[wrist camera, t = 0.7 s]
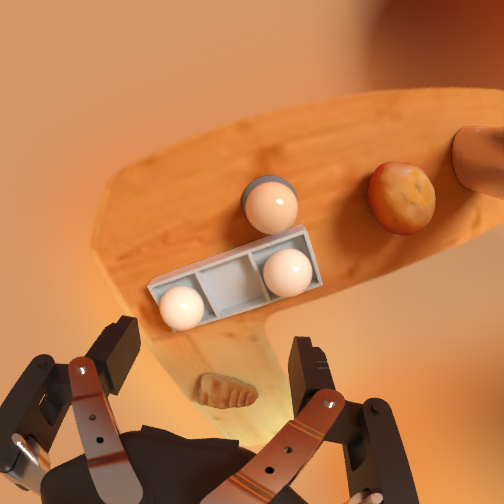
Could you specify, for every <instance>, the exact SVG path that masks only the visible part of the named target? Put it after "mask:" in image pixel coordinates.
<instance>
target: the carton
mask: <svg viewBox="0 0 504 504" xmlns="http://www.w3.org/2000/svg"><path fill="white" fill-rule="evenodd" d="M284 248H292V249H296V250H299V251H300V252H302V253H303V254H304V255H305V256H306V257H307V258H308V259H309V261H310V263H311V266H312V279H311V282H310V284H309V286H308V287H307V289H306V290H305V291H308V290H311V289H314V288H316V287H319V286H322V285H323V282H322V279H321V275H320V272H319V269H318V265H317V262H316V259H315V255H314V252H313V249H312V246H311V242H310V239H309V236H308V233H307V230H306V228H305V227H304V225H303V224H300V225H297V226H295V227H292V228H289V229H287V230H285V231H284V232H281V233H278V234H272V235H270V236H267V237H264V238H261V239H258V240H256V241H253V242H250V243H247V244H245V245H242V246H239V247H236V248H234V249H231V250H228V251H225V252H223V253H220V254H217V255H214V256H212V257H209V258H206V259H203V260H201V261H198V262H195V263H193V264H190V265H187V266H184V267H182V268H179V269H176V270H174V271H171V272H168V273H166V274H163V275H160V276H158V277H155V278H153V279H152V280H151V282H150V283H149V284H148V286H147V287H148V289H149V291H150V293H151V295H152V296H153V298H154V300H155V302H156V303H157V305H158V307H159V309H160V301H161V298H162V296H163V295H164V293H165V292H166V291H167V290H169V289H170V288H172V287H174V286H180V285H183V286H188V287H191V288H193V289H194V290H196V291H197V292H198V293H199V295H200V296H201V298H202V300H203V303H204V315H203V317H202V319H201V321H200V322H199V324H197V325H196V326H199V325H202V324H206V323H209V322H213V321H216V320H219V319H223V318H226V317H229V316H233V315H236V314H239V313H242V312H245V311H249V310H252V309H255V308H258V307H261V306H264V305H267V304H270V303H273V302H276V301H279V300H282V299H285V298H288V297H281V296H278V295H276V294H274V293H273V292H272V291H271V290H270V289H269V288H268V287H267V285H266V283H265V281H264V277H263V269H264V265H265V263H266V261H267V259H268V258H269V256H270V255H271V254H273V253H274V252H276V251H277V250H280V249H284ZM305 291H304V292H305ZM171 329H172V330H173V332H178V331H181V330H176V329H173V328H171Z"/></svg>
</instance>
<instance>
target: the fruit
mask: <svg viewBox="0 0 504 504" xmlns="http://www.w3.org/2000/svg"><path fill="white" fill-rule="evenodd" d="M435 201H436V198H435V189H434V187H433V185H432V184H431V182H430V181H429V179H428V177H427V175H426V174H425V173H424V172H423V171H422V170H421V169H420V168H419V167H417V166H414V165H411V164H409V163H396V162H387V163H384V164H382V165H380V166H379V167H378V168H377V169H376V170H375V172H374V174H373V175H372V176H371V178H370V181H369V185H368V192H367V202H368V206H369V208H370V213H371V214H372V215H373V216H374V217H375V219H376V220H377V221H378V222H379V223H380V224H381V226H382V227H383V228H385V229H386V230H387V231H389V232H391V233H394V234H398V235H410V234H415V233H417V232H419V231H421V229H423V228H424V227H426V225H428V223H429V222H430V221H431V219H432V217H433V214H434V210H435Z"/></svg>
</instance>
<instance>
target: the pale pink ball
mask: <svg viewBox="0 0 504 504" xmlns="http://www.w3.org/2000/svg"><path fill="white" fill-rule="evenodd" d="M245 211H246V215H247V218H248V220H249V222H250V224H251V225H252V226H253V227H254V228H255V229H257V230H258V231H260V232H262V233H266V234H278V233H281V232H284V231H285V230H287V229H288V228H290V227H291V226H292V224H293V223H294V221H295V220H296V217H297V214H298V202H297V199H296V197H295V195H294V193H293V192H292V191H291V190H290V189H289V188H288V187H287V186H285V185H283V184H281V183H278V182H265V183H262V184H260V185H258V186H256V187H255V188H254V189H253V190H252V191H251V192H250V194H249V196H248V197H247V200H246V205H245Z"/></svg>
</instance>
